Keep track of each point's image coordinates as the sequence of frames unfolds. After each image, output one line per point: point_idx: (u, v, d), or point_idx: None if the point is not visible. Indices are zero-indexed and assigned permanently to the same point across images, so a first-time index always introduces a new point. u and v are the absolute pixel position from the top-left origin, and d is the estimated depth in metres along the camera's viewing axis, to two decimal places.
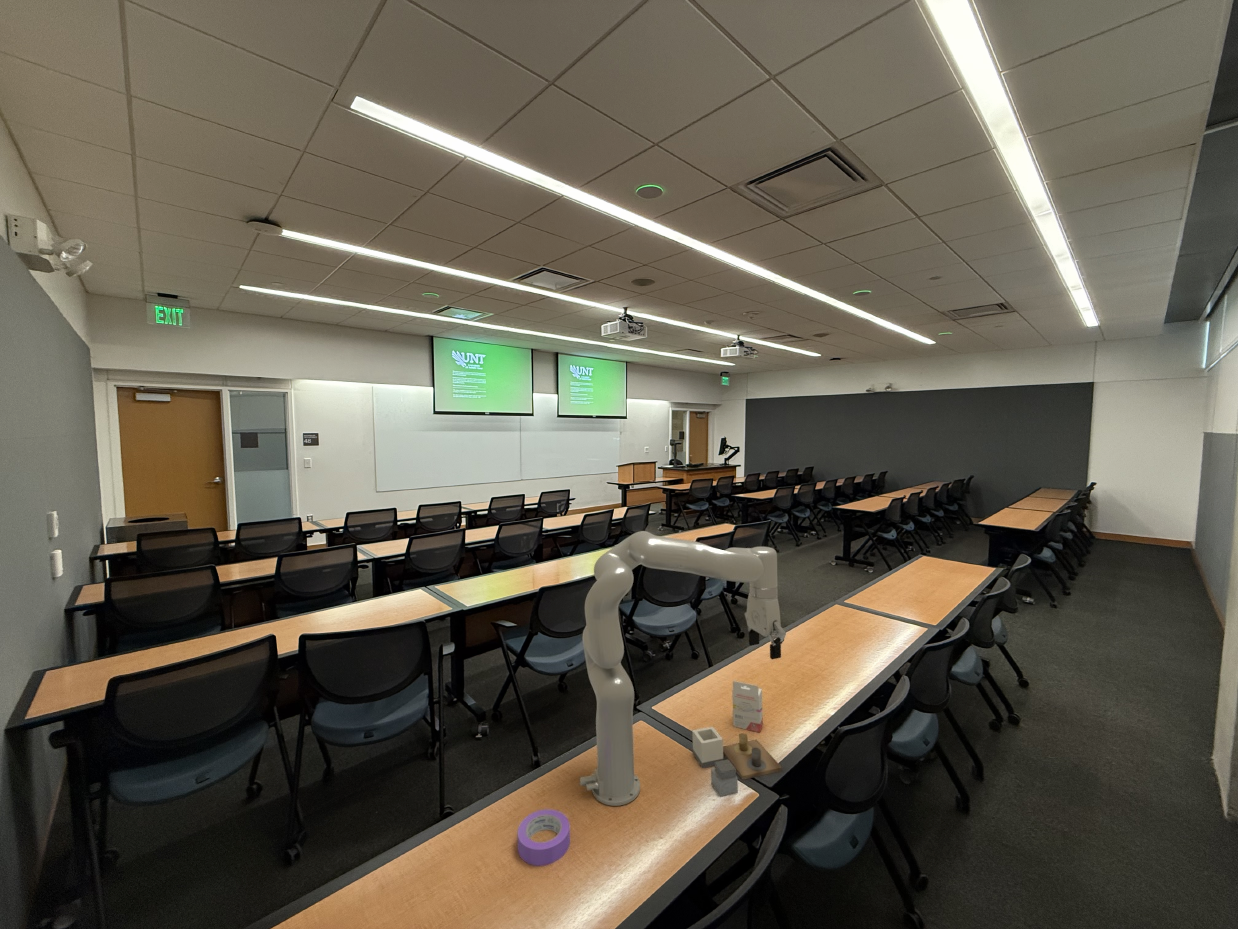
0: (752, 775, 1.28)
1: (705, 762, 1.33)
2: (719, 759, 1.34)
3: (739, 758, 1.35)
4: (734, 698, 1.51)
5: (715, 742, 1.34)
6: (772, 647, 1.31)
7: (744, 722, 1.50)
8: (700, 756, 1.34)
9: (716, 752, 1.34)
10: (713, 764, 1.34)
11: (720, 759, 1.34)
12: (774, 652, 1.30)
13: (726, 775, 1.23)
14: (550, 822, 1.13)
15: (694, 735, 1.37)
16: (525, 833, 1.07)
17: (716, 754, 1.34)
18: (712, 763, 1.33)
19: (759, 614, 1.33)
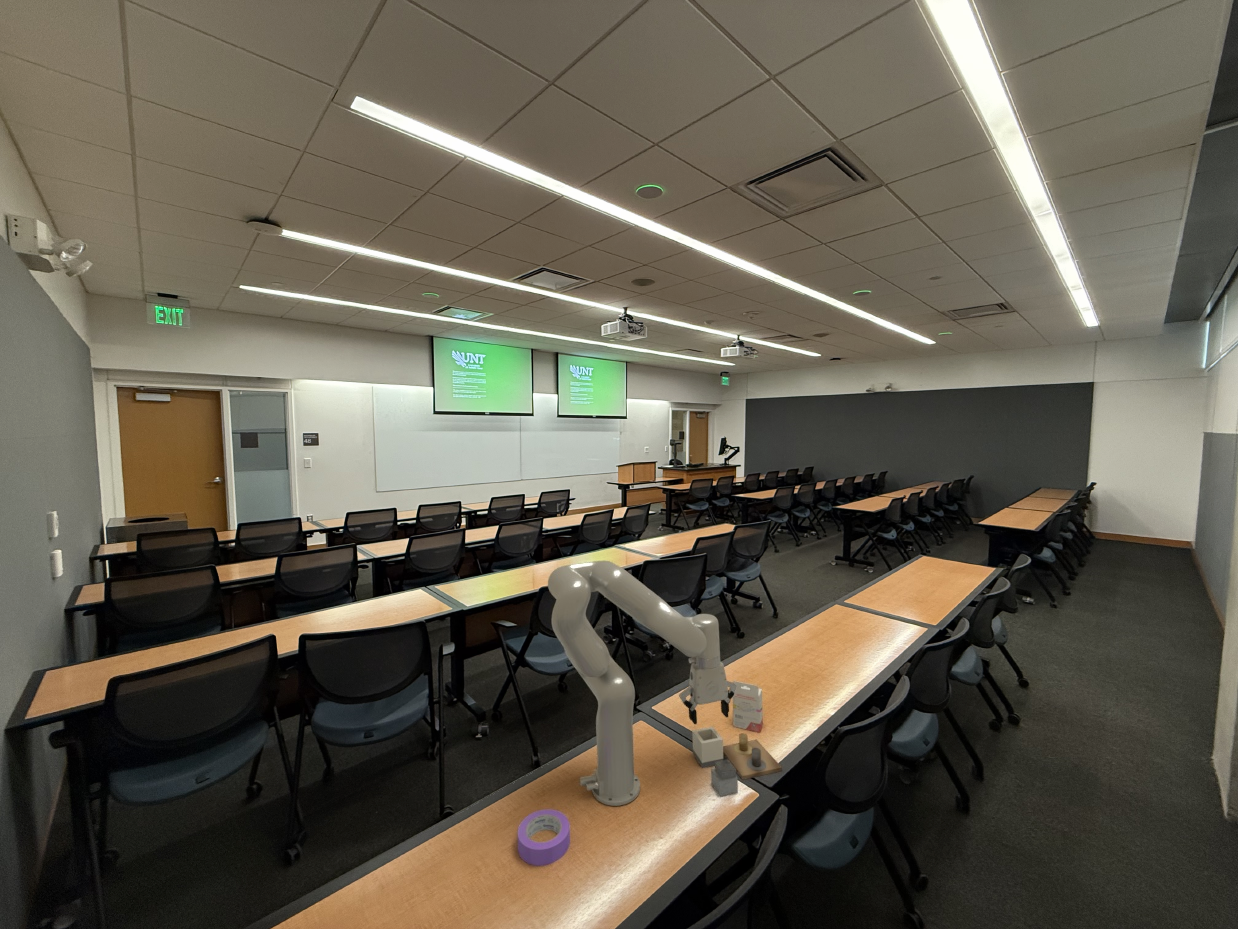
0: (752, 775, 1.28)
1: (705, 762, 1.33)
2: (719, 759, 1.34)
3: (739, 758, 1.35)
4: (734, 698, 1.51)
5: (715, 742, 1.34)
6: None
7: (744, 722, 1.50)
8: (700, 756, 1.34)
9: (716, 752, 1.34)
10: (713, 764, 1.34)
11: (720, 759, 1.34)
12: (727, 709, 1.37)
13: (726, 775, 1.23)
14: (550, 822, 1.13)
15: (694, 735, 1.37)
16: (525, 833, 1.07)
17: (716, 754, 1.34)
18: (712, 763, 1.33)
19: (717, 682, 1.34)
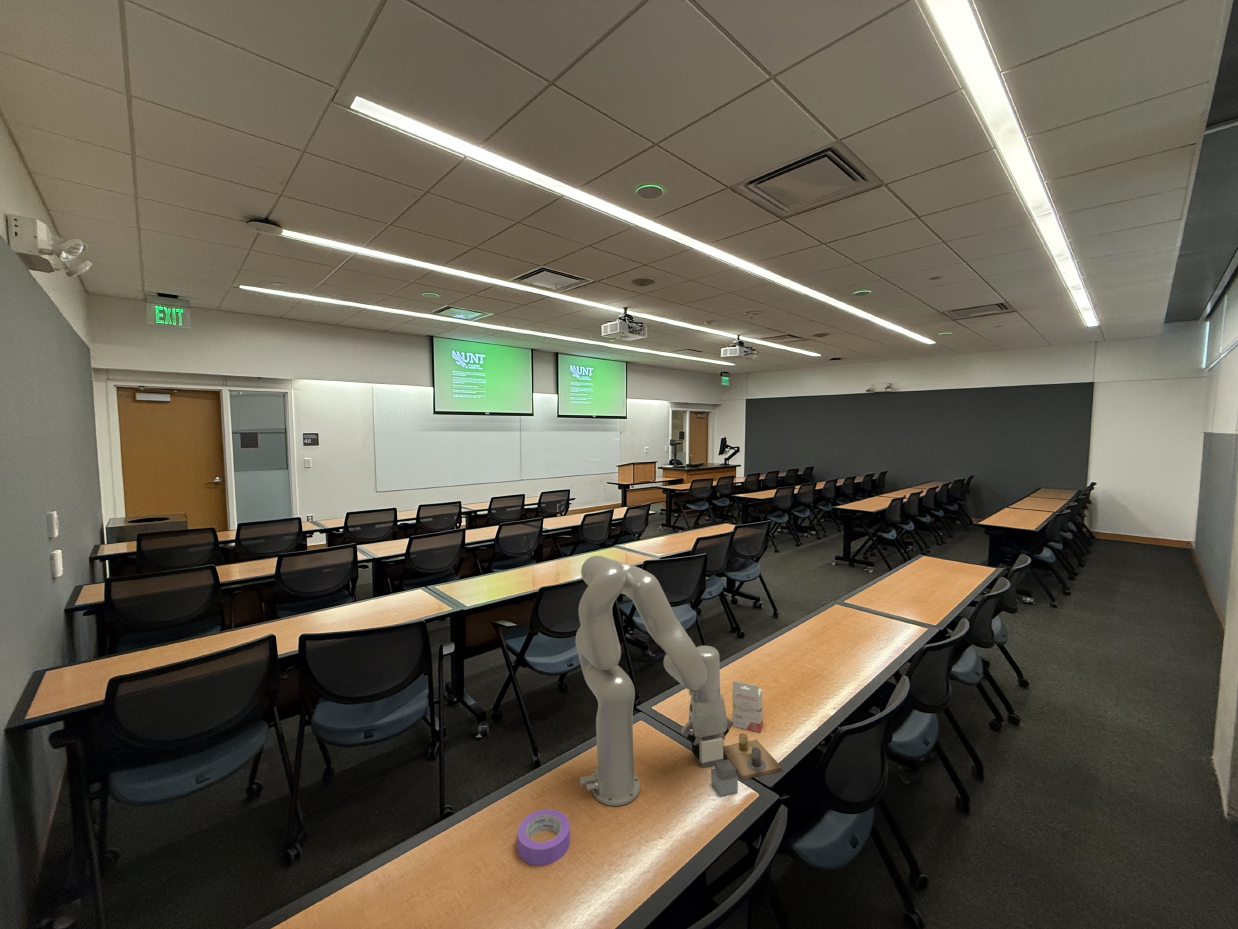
0: (752, 775, 1.28)
1: (705, 762, 1.33)
2: (719, 759, 1.34)
3: (739, 758, 1.35)
4: (734, 698, 1.51)
5: (715, 742, 1.34)
6: None
7: (744, 722, 1.50)
8: (700, 756, 1.34)
9: (716, 752, 1.34)
10: (713, 764, 1.34)
11: (720, 759, 1.34)
12: None
13: (726, 775, 1.23)
14: (550, 822, 1.13)
15: None
16: (525, 833, 1.07)
17: (716, 754, 1.34)
18: (712, 763, 1.33)
19: (717, 715, 1.34)
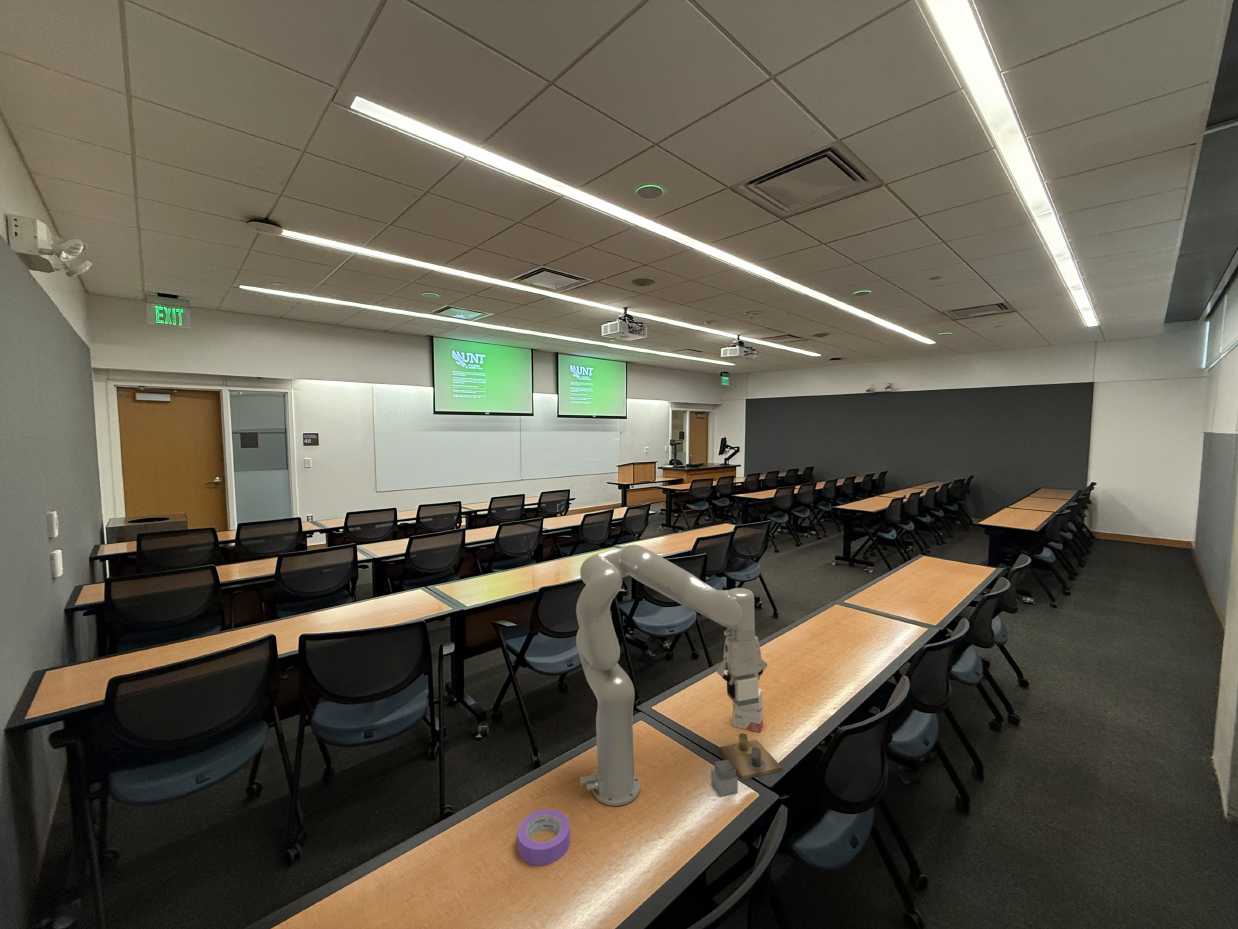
0: (752, 775, 1.28)
1: (741, 700, 1.35)
2: (754, 698, 1.36)
3: (739, 758, 1.35)
4: None
5: (750, 681, 1.35)
6: None
7: (744, 722, 1.50)
8: (736, 695, 1.35)
9: (752, 691, 1.35)
10: (749, 703, 1.35)
11: (755, 698, 1.36)
12: None
13: (726, 775, 1.23)
14: (550, 822, 1.13)
15: None
16: (525, 833, 1.07)
17: (752, 693, 1.35)
18: (747, 702, 1.35)
19: (752, 654, 1.36)
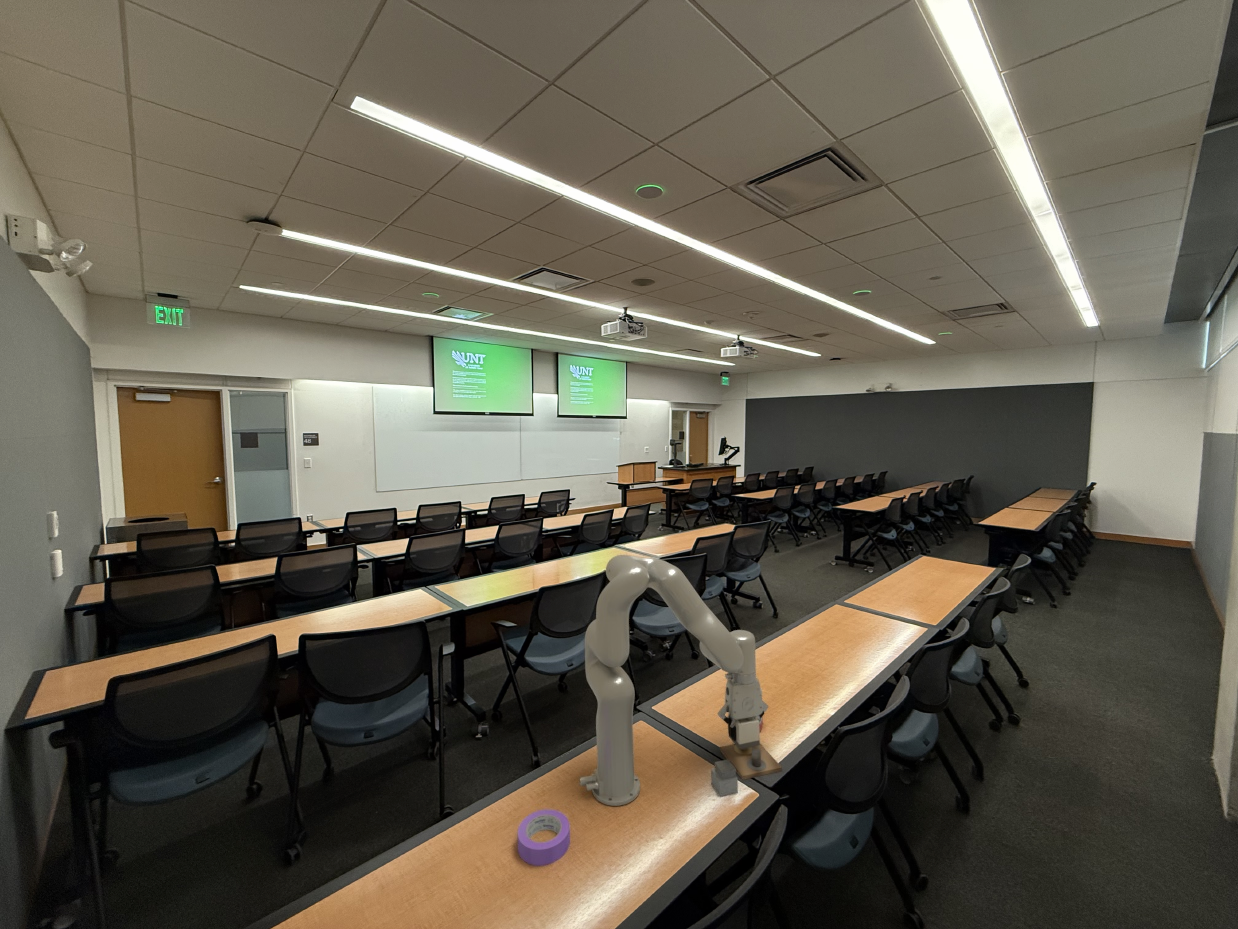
0: (752, 775, 1.28)
1: (742, 744, 1.35)
2: (756, 741, 1.36)
3: (739, 758, 1.35)
4: None
5: (751, 724, 1.36)
6: None
7: None
8: (737, 738, 1.36)
9: (753, 734, 1.36)
10: (750, 746, 1.36)
11: (757, 741, 1.36)
12: None
13: (726, 775, 1.23)
14: (550, 822, 1.13)
15: None
16: (525, 833, 1.07)
17: (753, 736, 1.36)
18: (748, 745, 1.36)
19: (753, 697, 1.36)
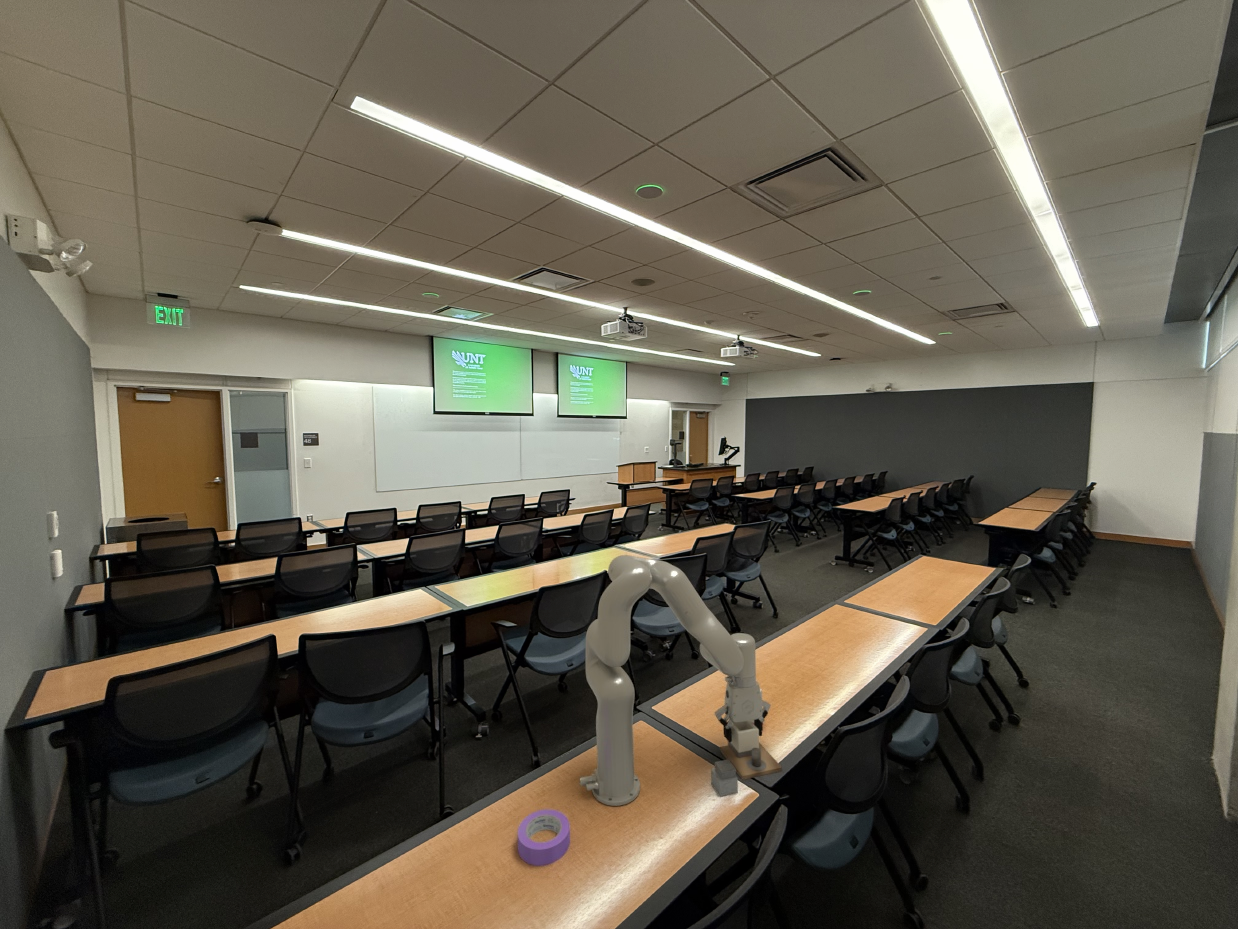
0: (752, 775, 1.28)
1: (741, 752, 1.35)
2: None
3: (739, 758, 1.35)
4: None
5: (751, 732, 1.36)
6: None
7: None
8: (736, 746, 1.36)
9: (752, 742, 1.36)
10: (749, 754, 1.36)
11: None
12: None
13: (726, 775, 1.23)
14: (550, 822, 1.13)
15: None
16: (525, 833, 1.07)
17: (752, 744, 1.36)
18: (748, 753, 1.36)
19: (753, 701, 1.36)
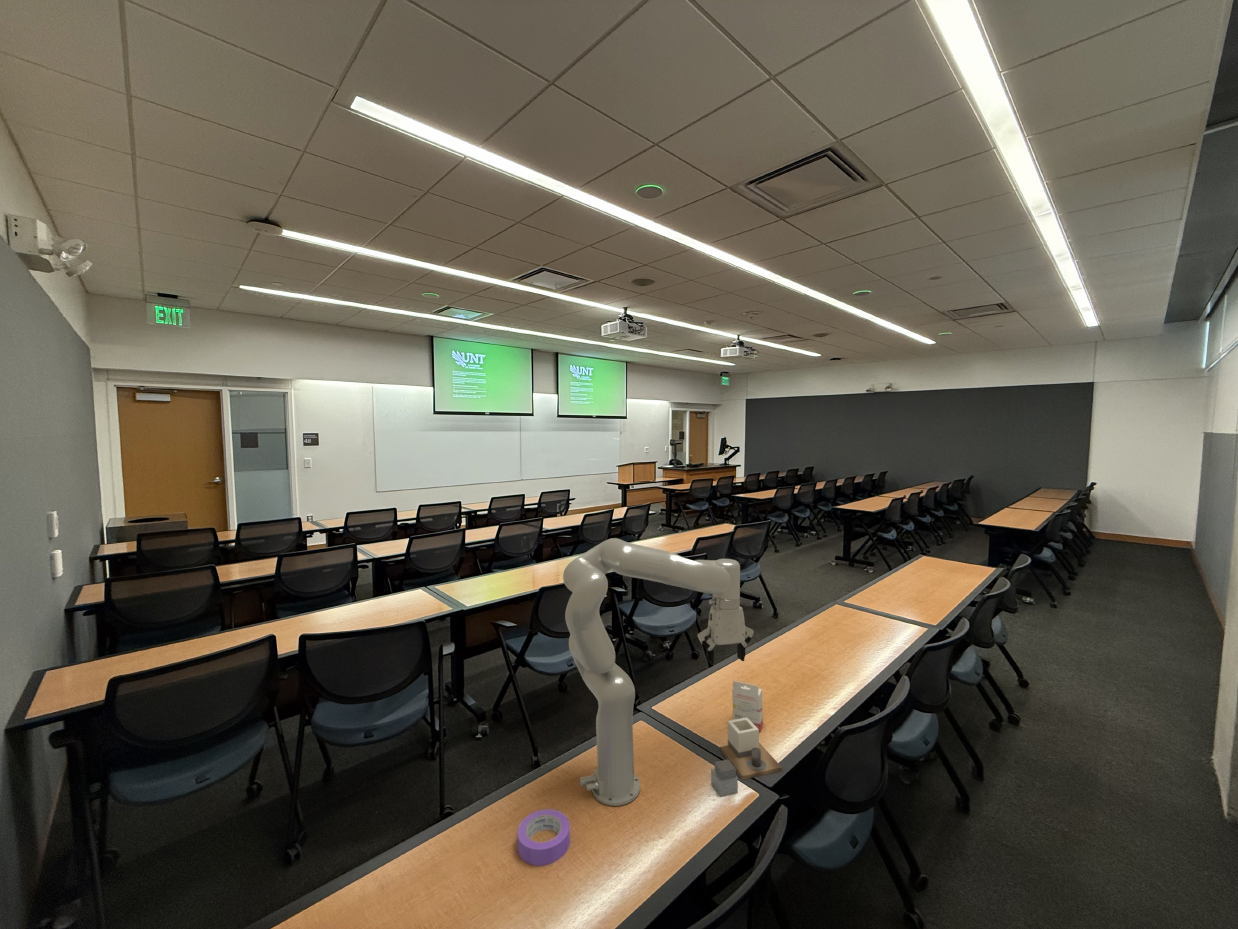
0: (752, 775, 1.28)
1: (741, 752, 1.35)
2: None
3: (739, 758, 1.35)
4: (734, 698, 1.51)
5: (751, 732, 1.36)
6: None
7: None
8: (736, 746, 1.36)
9: (752, 742, 1.36)
10: (749, 754, 1.36)
11: None
12: None
13: (726, 775, 1.23)
14: (550, 822, 1.13)
15: (729, 726, 1.40)
16: (525, 833, 1.07)
17: (752, 744, 1.36)
18: (748, 753, 1.36)
19: (736, 624, 1.37)
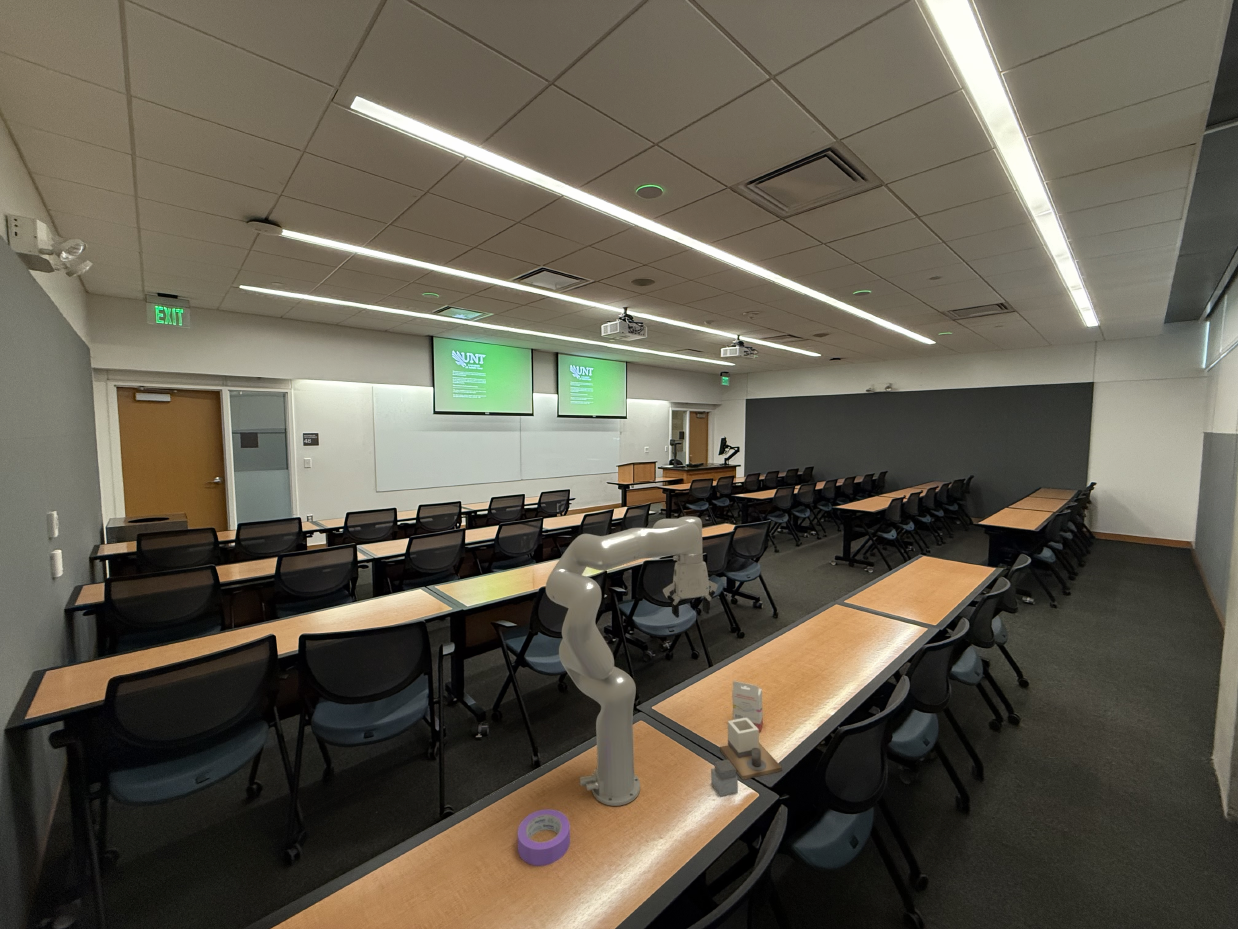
0: (752, 775, 1.28)
1: (741, 752, 1.35)
2: None
3: (739, 758, 1.35)
4: (734, 698, 1.51)
5: (751, 732, 1.36)
6: None
7: None
8: (736, 746, 1.36)
9: (752, 742, 1.36)
10: (749, 754, 1.36)
11: None
12: (708, 606, 1.45)
13: (726, 775, 1.23)
14: (550, 822, 1.13)
15: (729, 726, 1.40)
16: (525, 833, 1.07)
17: (752, 744, 1.36)
18: (748, 753, 1.36)
19: (699, 578, 1.42)
